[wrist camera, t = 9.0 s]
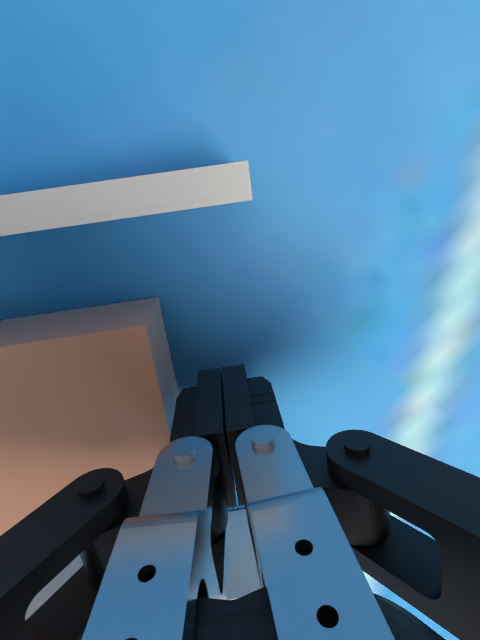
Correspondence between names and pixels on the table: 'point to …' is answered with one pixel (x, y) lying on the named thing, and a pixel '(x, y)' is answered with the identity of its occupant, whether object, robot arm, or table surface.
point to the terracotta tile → (81, 399)
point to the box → (127, 202)
